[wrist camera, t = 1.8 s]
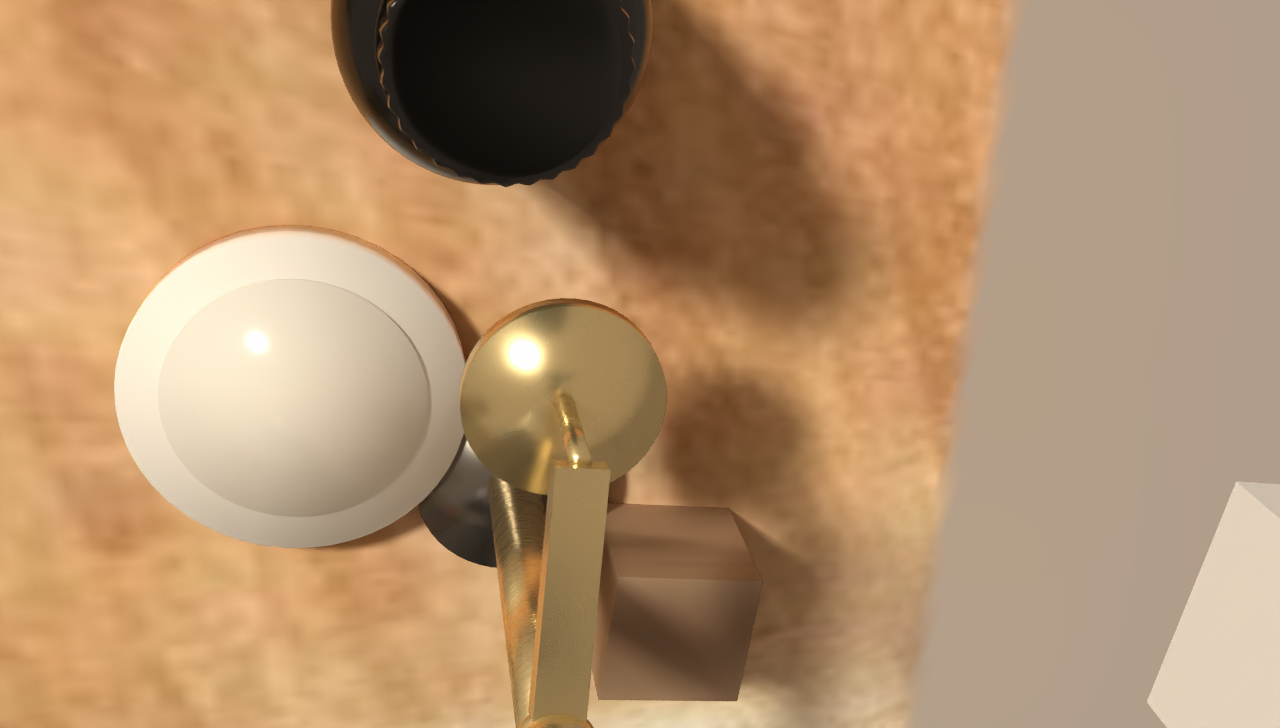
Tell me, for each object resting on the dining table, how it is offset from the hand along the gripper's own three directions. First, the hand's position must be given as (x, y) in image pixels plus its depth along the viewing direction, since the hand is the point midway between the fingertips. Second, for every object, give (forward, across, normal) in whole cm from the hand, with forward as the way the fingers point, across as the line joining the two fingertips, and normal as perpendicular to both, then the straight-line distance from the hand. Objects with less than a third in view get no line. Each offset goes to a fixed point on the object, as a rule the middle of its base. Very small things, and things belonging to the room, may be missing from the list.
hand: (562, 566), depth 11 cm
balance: (+25, -3, +13) cm, 28 cm away
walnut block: (+25, -8, +16) cm, 31 cm away
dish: (+25, +4, +11) cm, 28 cm away
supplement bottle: (+26, 0, -2) cm, 26 cm away
